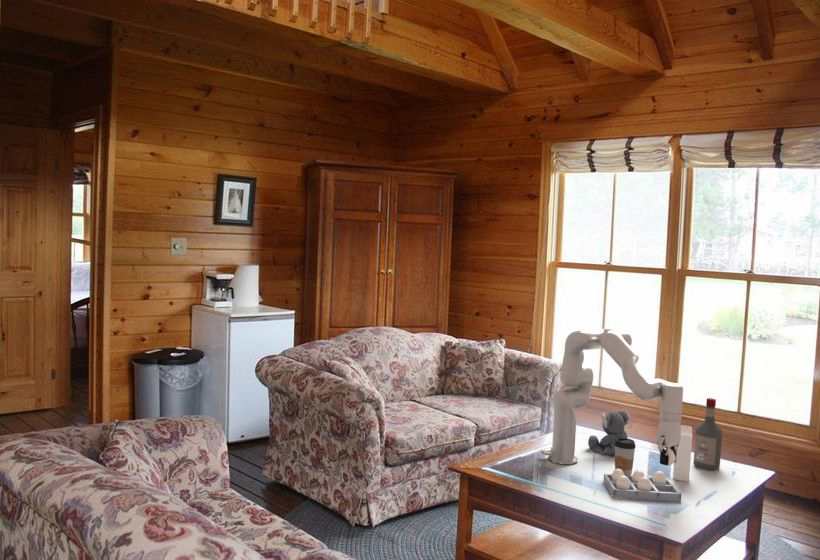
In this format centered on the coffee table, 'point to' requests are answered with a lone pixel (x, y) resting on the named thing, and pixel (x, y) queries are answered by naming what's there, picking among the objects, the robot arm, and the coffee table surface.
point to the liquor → (708, 441)
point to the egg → (671, 457)
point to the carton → (641, 486)
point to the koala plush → (610, 432)
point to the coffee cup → (624, 455)
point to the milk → (683, 455)
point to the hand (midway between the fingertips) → (667, 462)
